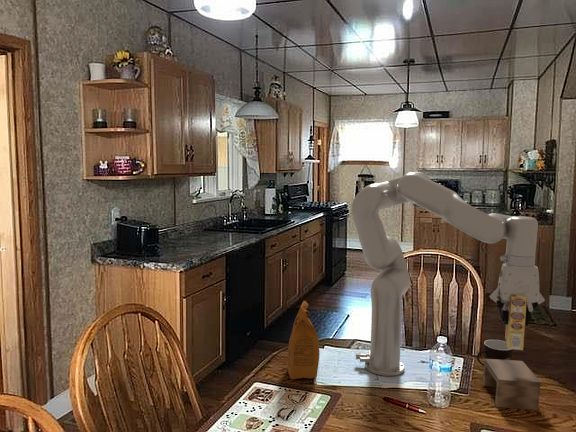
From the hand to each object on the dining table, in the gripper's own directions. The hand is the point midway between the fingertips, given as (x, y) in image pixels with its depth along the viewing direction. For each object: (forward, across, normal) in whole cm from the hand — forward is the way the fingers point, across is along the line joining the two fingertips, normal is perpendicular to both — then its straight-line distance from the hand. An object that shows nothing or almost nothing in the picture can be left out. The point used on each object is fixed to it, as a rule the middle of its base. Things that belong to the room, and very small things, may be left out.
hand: (515, 322), depth 143 cm
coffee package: (+22, -61, +7) cm, 65 cm away
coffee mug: (+22, -1, +14) cm, 26 cm away
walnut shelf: (+22, 0, 0) cm, 22 cm away
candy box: (+7, 0, 0) cm, 7 cm away
